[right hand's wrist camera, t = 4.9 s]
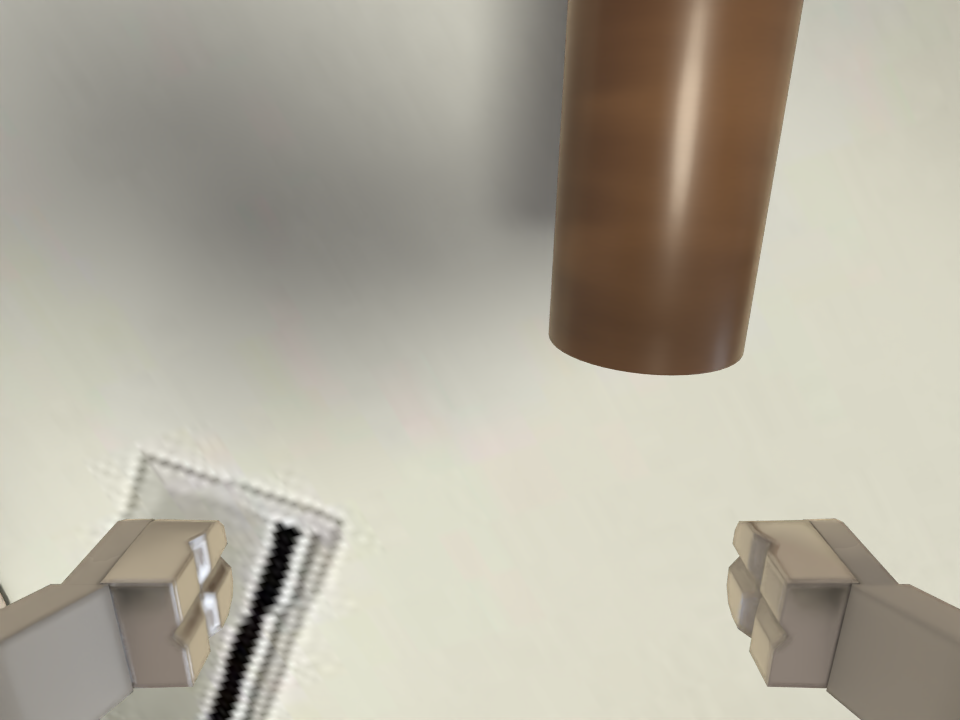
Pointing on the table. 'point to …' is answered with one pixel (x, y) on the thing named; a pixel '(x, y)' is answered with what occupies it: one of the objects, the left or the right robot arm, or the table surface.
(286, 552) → the table surface
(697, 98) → the rod
